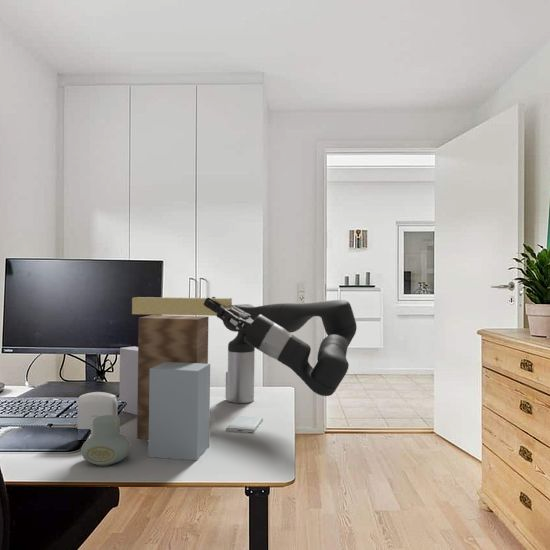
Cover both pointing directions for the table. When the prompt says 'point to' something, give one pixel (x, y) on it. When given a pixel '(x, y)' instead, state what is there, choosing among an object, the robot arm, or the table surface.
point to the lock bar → (176, 306)
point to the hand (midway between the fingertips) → (208, 300)
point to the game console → (129, 378)
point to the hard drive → (244, 424)
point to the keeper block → (179, 410)
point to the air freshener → (106, 442)
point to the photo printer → (94, 408)
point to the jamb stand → (166, 353)
